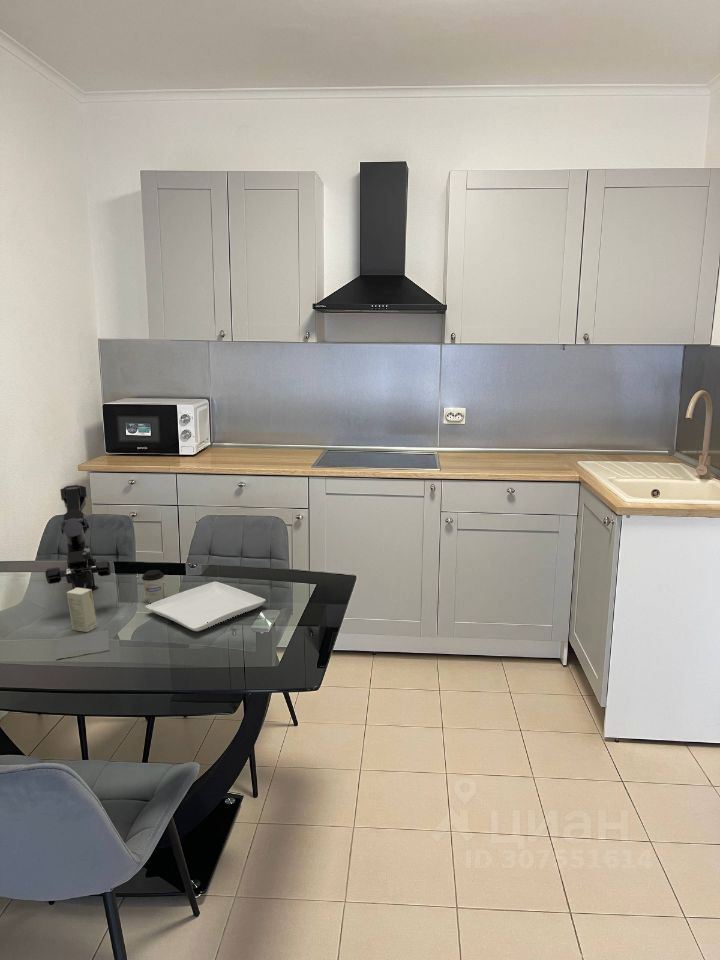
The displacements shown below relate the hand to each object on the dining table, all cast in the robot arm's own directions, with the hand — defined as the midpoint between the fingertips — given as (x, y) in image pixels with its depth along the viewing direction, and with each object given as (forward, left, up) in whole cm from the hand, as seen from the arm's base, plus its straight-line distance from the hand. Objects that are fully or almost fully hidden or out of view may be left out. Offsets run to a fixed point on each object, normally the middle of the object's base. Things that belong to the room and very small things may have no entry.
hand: (80, 596), depth 225 cm
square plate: (-23, +29, -8) cm, 38 cm away
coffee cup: (-21, +8, -8) cm, 24 cm away
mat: (+11, +15, -8) cm, 20 cm away
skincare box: (+4, +5, -8) cm, 10 cm away
